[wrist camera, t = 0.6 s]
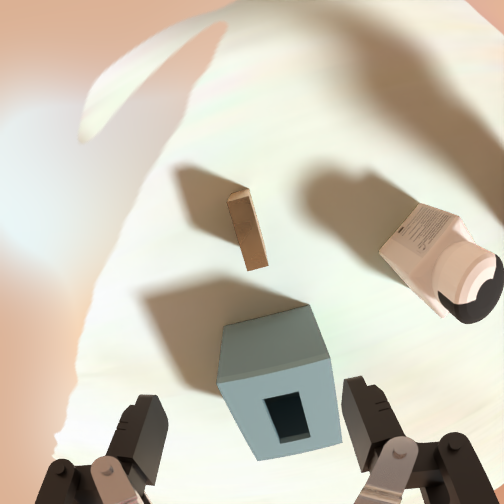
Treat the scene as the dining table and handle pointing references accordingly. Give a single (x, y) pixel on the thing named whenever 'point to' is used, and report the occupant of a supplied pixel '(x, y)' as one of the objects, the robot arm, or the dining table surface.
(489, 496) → the robot arm
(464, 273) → the container
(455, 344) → the dining table surface
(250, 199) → the block
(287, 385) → the coin box
